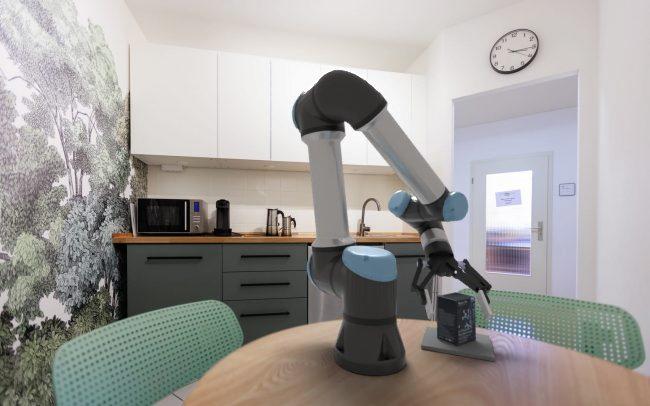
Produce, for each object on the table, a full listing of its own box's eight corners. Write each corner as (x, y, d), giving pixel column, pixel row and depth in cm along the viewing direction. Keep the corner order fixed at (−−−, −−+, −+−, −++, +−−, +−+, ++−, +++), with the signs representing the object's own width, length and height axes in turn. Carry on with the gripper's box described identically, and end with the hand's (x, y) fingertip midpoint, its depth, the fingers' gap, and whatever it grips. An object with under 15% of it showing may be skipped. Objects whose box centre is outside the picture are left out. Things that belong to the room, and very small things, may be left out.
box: (457, 347, 68) (456, 300, 69) (436, 339, 73) (435, 295, 74) (477, 340, 73) (475, 296, 73) (455, 333, 77) (455, 291, 78)
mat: (421, 348, 69) (421, 345, 69) (427, 329, 82) (426, 326, 82) (495, 361, 63) (494, 357, 63) (489, 338, 76) (488, 335, 76)
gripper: (475, 256, 89) (507, 325, 73) (391, 255, 89) (404, 323, 73) (484, 239, 84) (520, 309, 68) (395, 238, 85) (410, 307, 69)
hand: (460, 317), depth 71 cm, fingers open, 13 cm apart
